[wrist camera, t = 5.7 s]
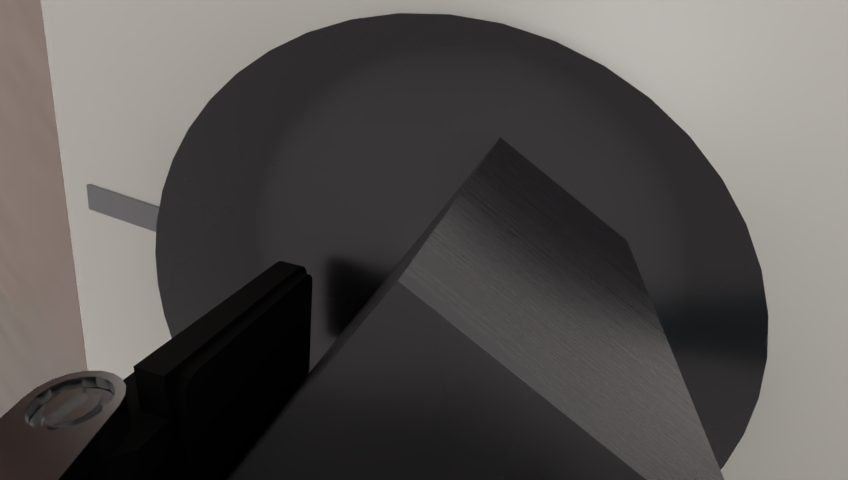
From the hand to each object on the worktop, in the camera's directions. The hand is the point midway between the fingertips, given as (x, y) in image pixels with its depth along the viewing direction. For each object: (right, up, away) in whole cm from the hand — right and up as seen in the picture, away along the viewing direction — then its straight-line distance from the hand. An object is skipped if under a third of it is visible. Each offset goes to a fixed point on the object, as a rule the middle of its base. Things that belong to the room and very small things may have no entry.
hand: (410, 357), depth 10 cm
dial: (0, +1, +2) cm, 2 cm away
